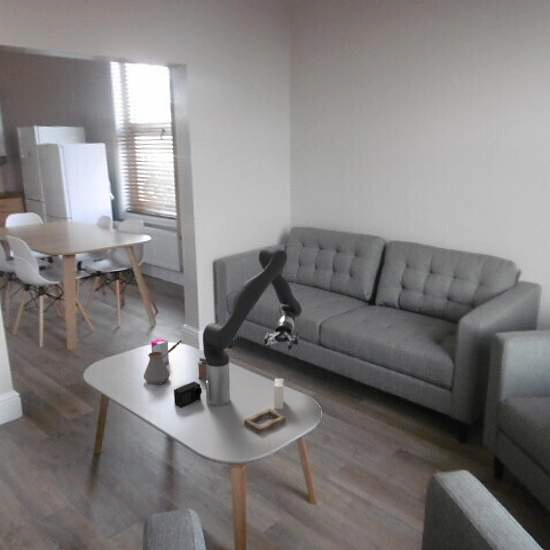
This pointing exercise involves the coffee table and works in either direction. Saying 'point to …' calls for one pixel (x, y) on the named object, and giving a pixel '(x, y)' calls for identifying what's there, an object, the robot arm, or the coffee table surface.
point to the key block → (278, 394)
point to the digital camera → (187, 394)
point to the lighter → (202, 369)
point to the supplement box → (161, 348)
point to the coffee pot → (157, 367)
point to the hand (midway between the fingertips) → (279, 347)
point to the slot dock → (261, 429)
